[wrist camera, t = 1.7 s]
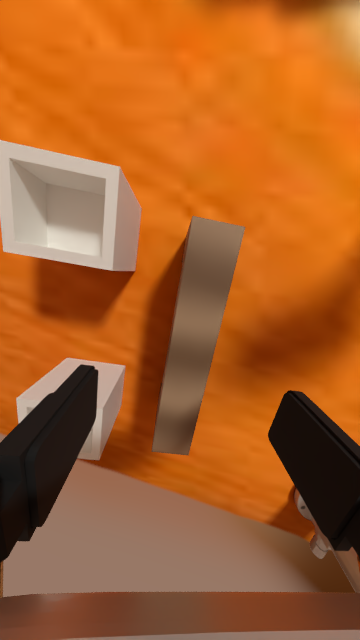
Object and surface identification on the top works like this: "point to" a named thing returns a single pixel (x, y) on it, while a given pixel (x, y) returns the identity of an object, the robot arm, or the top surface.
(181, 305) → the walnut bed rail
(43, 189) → the twin hollow square sockets
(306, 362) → the top surface
